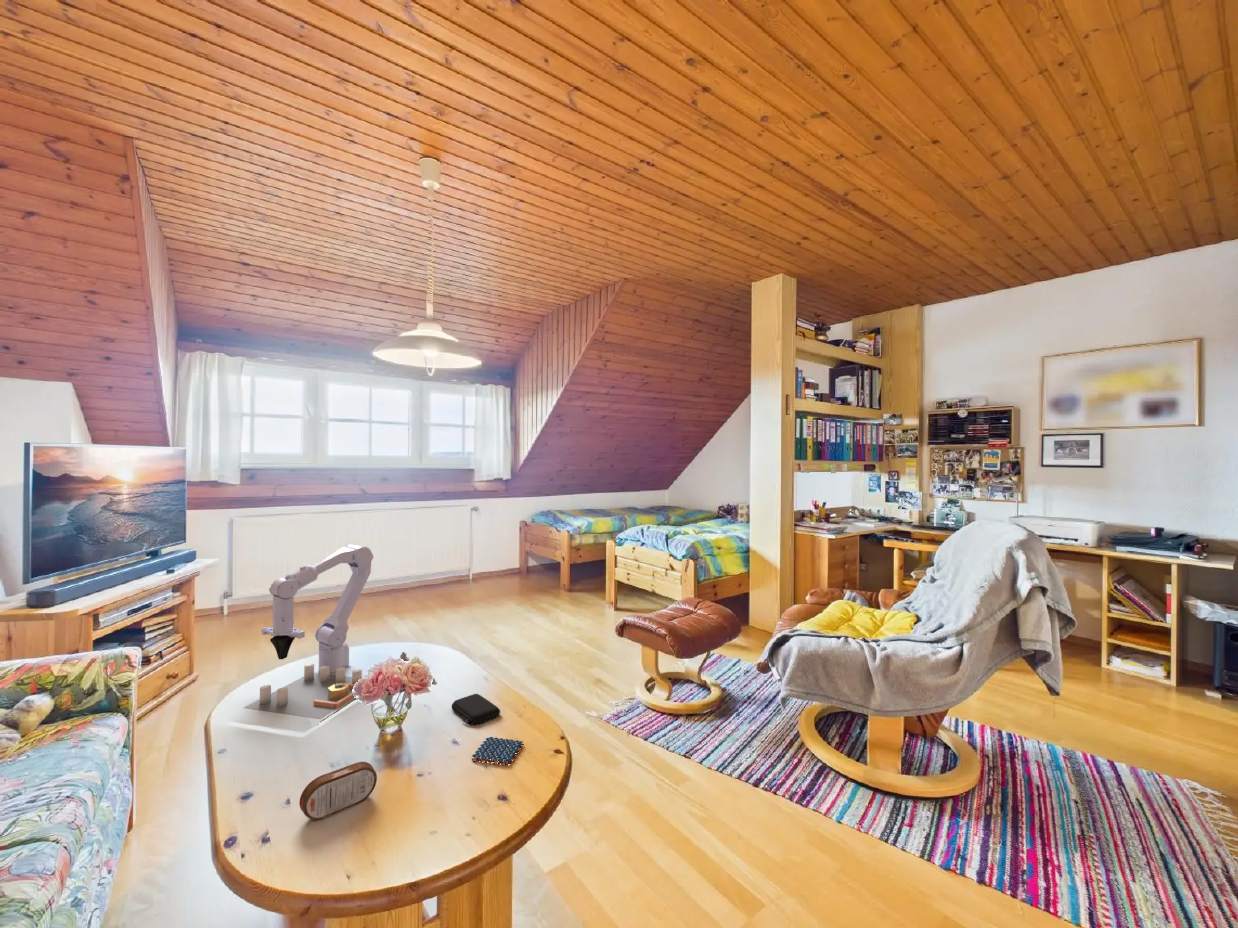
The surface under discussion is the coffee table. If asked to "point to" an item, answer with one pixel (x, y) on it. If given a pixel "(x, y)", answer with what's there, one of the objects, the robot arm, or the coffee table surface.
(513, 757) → the woven mat
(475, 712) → the carrying case or bag
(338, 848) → the coffee table surface
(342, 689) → the brass nut
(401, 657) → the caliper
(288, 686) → the plate
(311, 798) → the tin
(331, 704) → the parts bay
